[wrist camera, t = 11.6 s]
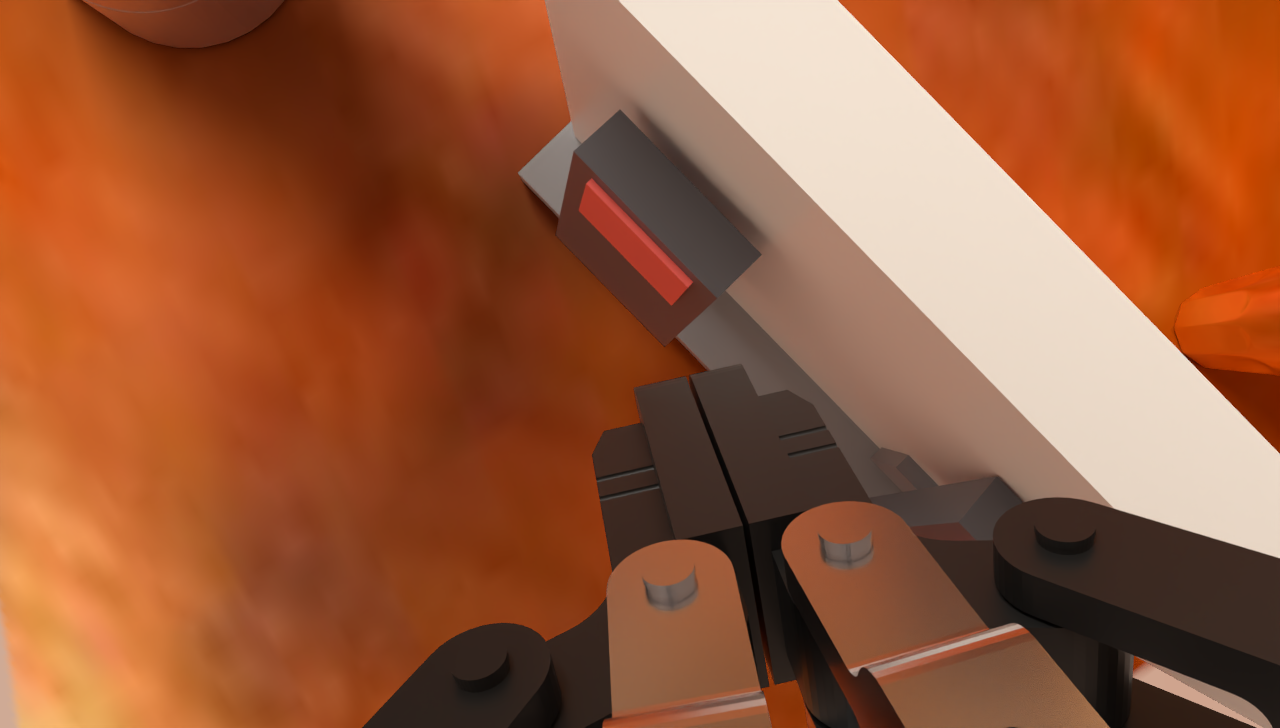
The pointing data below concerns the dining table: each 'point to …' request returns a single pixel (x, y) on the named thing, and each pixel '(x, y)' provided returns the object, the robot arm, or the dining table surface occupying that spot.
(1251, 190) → the dining table surface
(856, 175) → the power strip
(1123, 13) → the dining table surface
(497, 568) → the dining table surface
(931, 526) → the rocker outlet
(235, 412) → the dining table surface
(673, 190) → the rocker outlet
